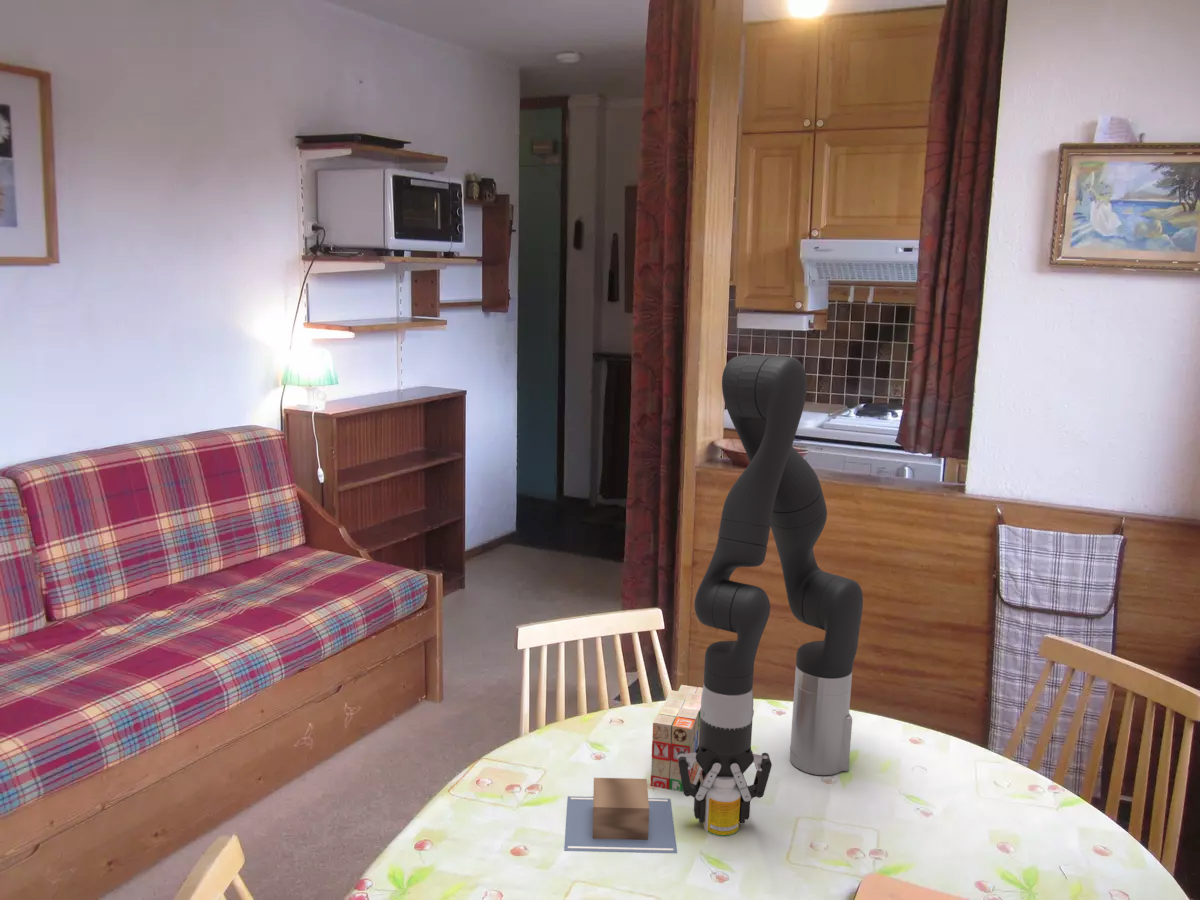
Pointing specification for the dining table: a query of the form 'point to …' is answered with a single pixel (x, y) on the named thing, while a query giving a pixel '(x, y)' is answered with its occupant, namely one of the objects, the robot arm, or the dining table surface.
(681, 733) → the stack of blocks
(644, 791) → the walnut plinth
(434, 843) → the dining table surface
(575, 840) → the blueprint board
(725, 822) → the supplement bottle
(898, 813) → the dining table surface
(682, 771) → the robot arm
